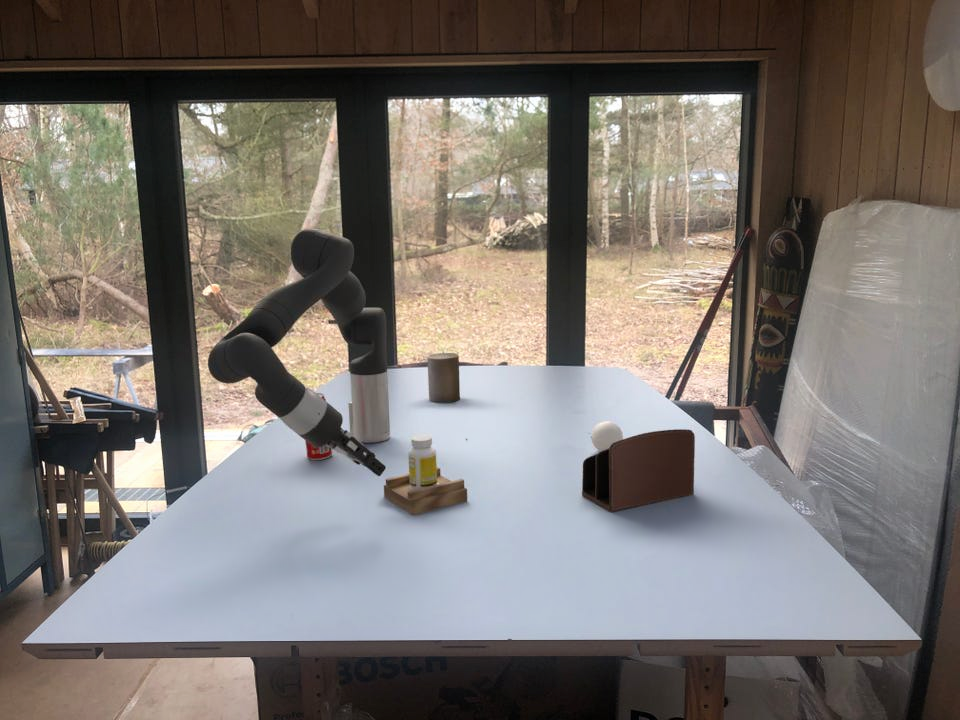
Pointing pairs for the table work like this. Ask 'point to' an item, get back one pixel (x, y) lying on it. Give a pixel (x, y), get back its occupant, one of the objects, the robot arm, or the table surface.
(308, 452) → the beverage can
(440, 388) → the pillar candle
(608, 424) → the white egg shape
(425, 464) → the supplement bottle
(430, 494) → the display plinth
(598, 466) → the letter holder
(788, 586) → the table surface
